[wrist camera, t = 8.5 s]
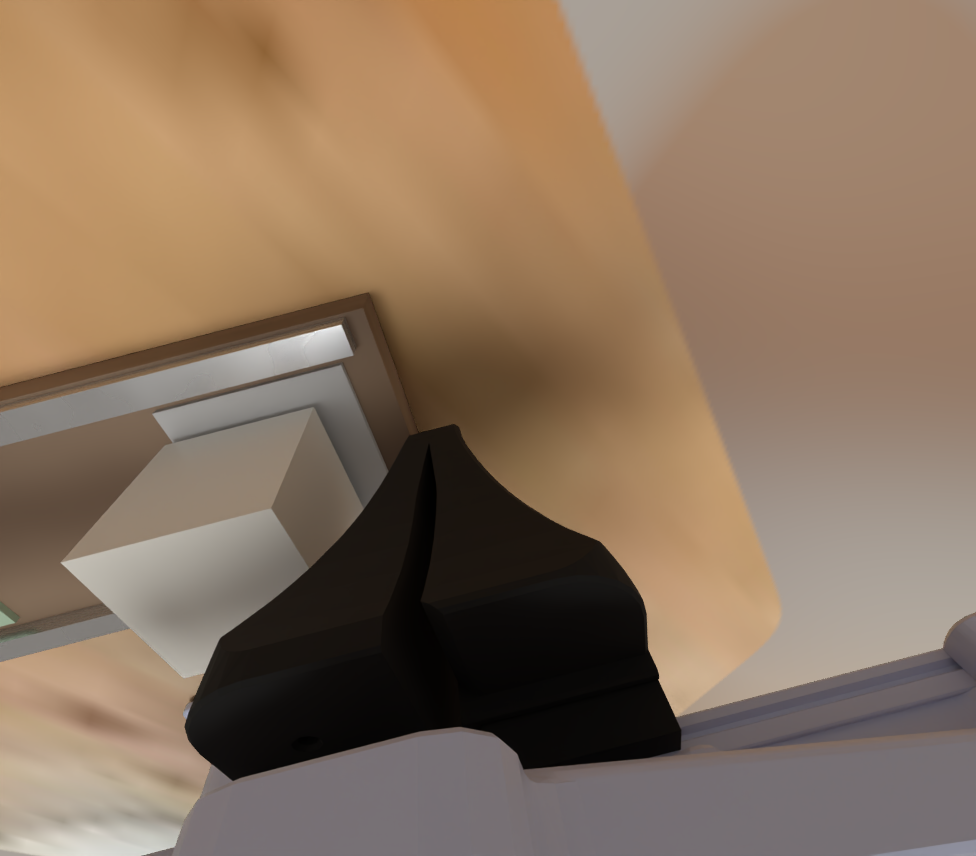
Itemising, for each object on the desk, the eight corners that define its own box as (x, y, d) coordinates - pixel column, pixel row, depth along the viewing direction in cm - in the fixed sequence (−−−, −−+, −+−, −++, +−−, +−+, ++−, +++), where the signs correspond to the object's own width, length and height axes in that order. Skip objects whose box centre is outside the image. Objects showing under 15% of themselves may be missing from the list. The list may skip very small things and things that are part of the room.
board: (445, 506, 17) (448, 548, 15) (-83, 642, 16) (-144, 701, 15) (368, 292, 12) (360, 315, 11) (-340, 474, 12) (-469, 528, 11)
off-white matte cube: (367, 517, 14) (352, 634, 10) (241, 550, 14) (183, 678, 10) (313, 406, 12) (271, 508, 8) (164, 444, 12) (60, 562, 8)
